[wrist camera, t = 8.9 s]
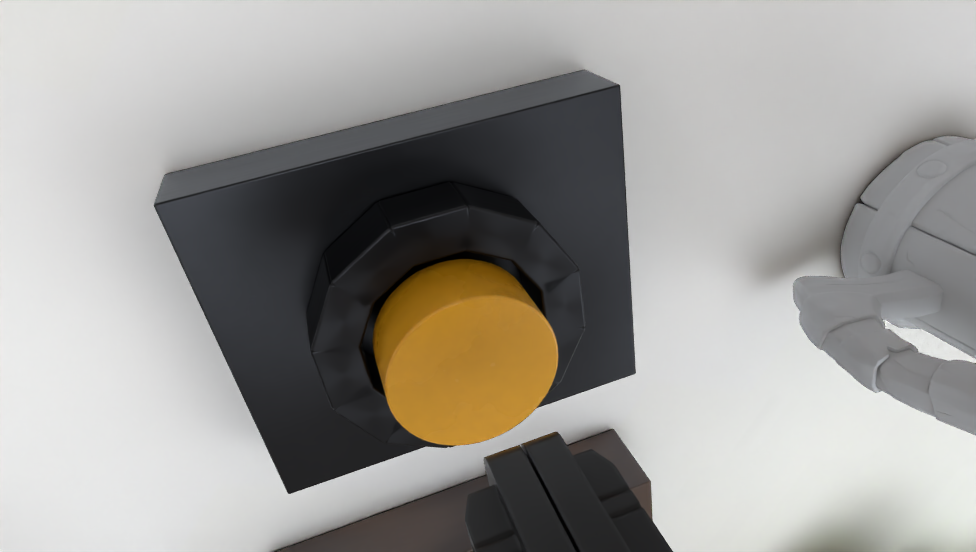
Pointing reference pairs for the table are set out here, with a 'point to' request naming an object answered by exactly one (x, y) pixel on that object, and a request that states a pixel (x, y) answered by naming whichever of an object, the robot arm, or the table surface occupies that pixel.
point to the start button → (463, 352)
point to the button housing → (404, 254)
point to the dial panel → (455, 512)
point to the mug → (906, 282)
